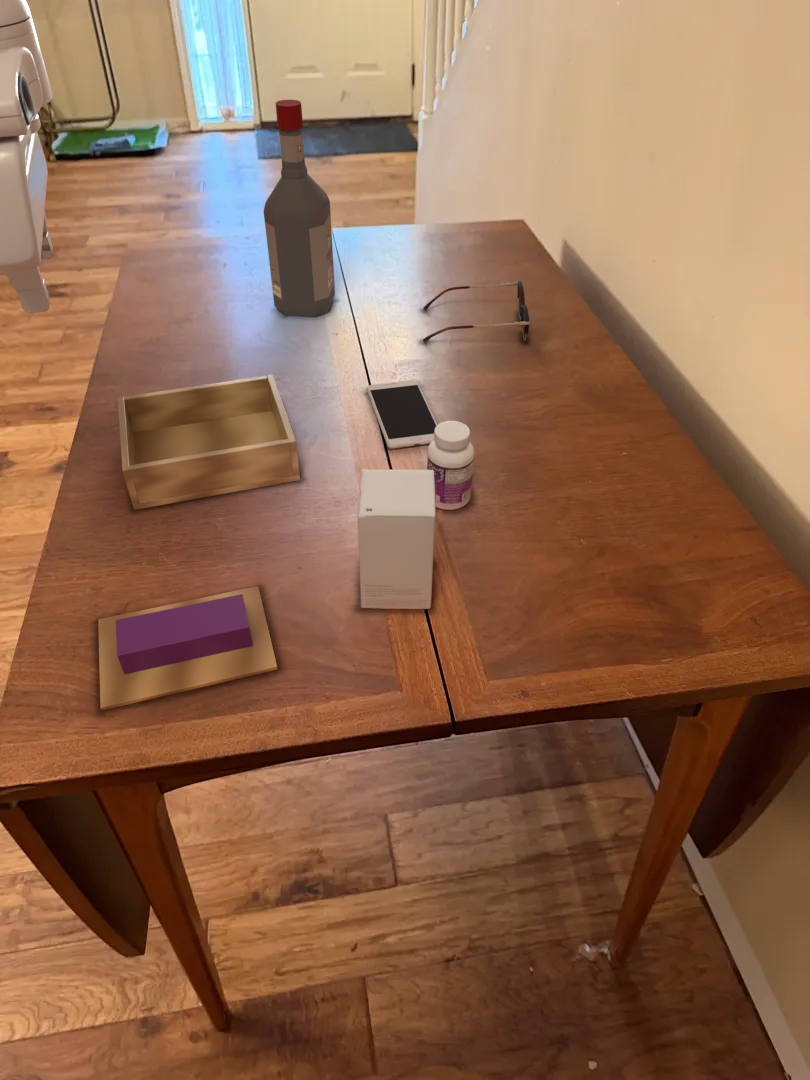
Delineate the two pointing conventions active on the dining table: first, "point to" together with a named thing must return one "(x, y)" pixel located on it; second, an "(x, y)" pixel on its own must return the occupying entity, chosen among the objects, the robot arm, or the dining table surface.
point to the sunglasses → (522, 314)
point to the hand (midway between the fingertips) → (40, 281)
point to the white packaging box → (396, 538)
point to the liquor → (298, 227)
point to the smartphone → (402, 413)
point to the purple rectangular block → (182, 633)
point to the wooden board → (187, 673)
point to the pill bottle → (451, 464)
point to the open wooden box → (205, 441)
